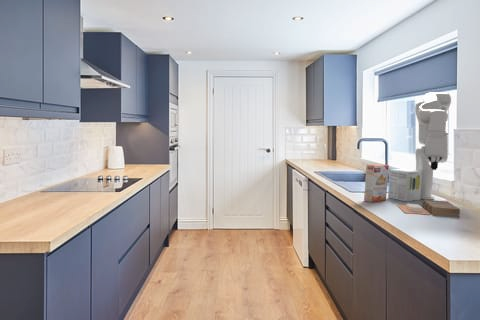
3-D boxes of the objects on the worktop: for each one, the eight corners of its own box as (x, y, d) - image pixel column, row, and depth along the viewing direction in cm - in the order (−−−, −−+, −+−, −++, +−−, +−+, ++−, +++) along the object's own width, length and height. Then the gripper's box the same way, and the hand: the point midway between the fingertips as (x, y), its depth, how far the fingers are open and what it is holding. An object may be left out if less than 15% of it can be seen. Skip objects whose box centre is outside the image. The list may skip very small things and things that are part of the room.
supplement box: (405, 201, 225) (408, 171, 223) (387, 197, 236) (389, 169, 234) (420, 200, 231) (422, 170, 229) (402, 196, 242) (404, 168, 241)
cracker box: (372, 202, 218) (374, 165, 216) (363, 200, 223) (365, 164, 221) (387, 200, 226) (389, 164, 224) (378, 198, 231) (380, 163, 229)
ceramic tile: (418, 204, 204) (417, 208, 205) (406, 203, 206) (405, 207, 206) (422, 207, 196) (422, 211, 196) (410, 207, 197) (409, 210, 197)
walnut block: (422, 206, 210) (422, 199, 210) (446, 208, 208) (447, 201, 207) (432, 215, 191) (433, 207, 190) (459, 217, 188) (459, 208, 188)
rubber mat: (396, 205, 213) (396, 204, 213) (420, 206, 210) (420, 206, 210) (404, 213, 193) (404, 212, 193) (430, 214, 191) (430, 214, 191)
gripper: (450, 134, 201) (447, 169, 204) (419, 133, 205) (416, 167, 207) (454, 135, 194) (451, 171, 196) (422, 134, 198) (419, 169, 200)
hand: (433, 169), depth 202 cm, fingers closed
